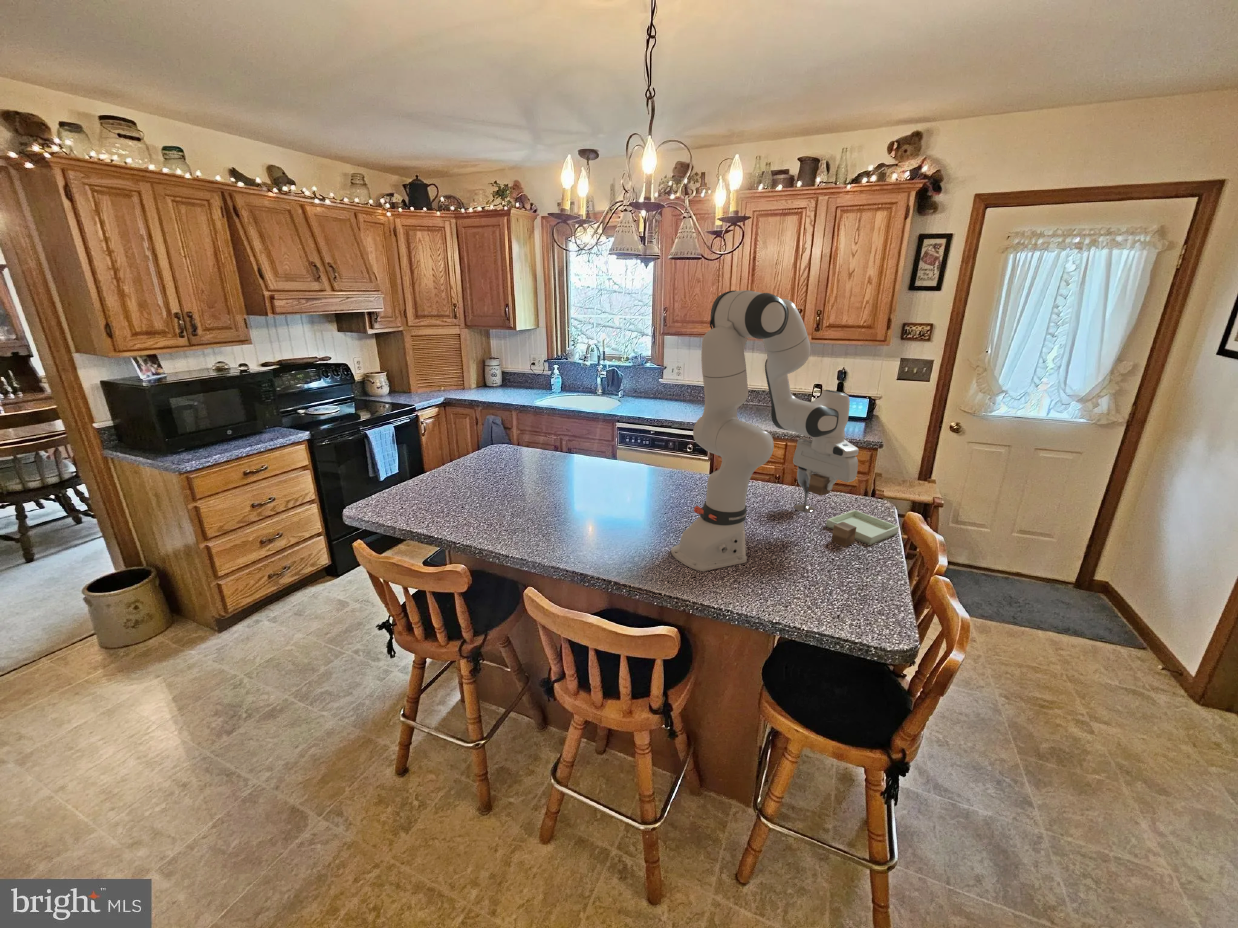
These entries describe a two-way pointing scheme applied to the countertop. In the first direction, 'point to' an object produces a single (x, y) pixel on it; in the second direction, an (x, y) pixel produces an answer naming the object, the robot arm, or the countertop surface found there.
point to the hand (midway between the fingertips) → (819, 486)
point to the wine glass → (804, 484)
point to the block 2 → (843, 534)
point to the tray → (865, 526)
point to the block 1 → (818, 484)
